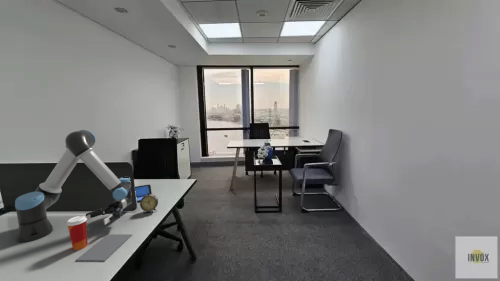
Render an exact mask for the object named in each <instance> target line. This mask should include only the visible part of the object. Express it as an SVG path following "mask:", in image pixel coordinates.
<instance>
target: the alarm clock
mask: <svg viewBox="0 0 500 281" xmlns="http://www.w3.org/2000/svg"><path fill="white" fill-rule="evenodd" d="M146 190H147V189H146ZM149 190H150V189H149ZM150 192H152V189H151V190H150ZM146 193H147V192H146ZM158 205H159V199H158V197H157V196H156V195H155V194H153V193H152V194H149V193H148V195H145V196H144V197H143V198H142V199H141V201H140V202H139V206H140V209H141V210H142V211H143V212H142V213H145V212H148V213H149V212H152V211H155V212H157V209H156V208H157V206H158Z"/></svg>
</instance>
